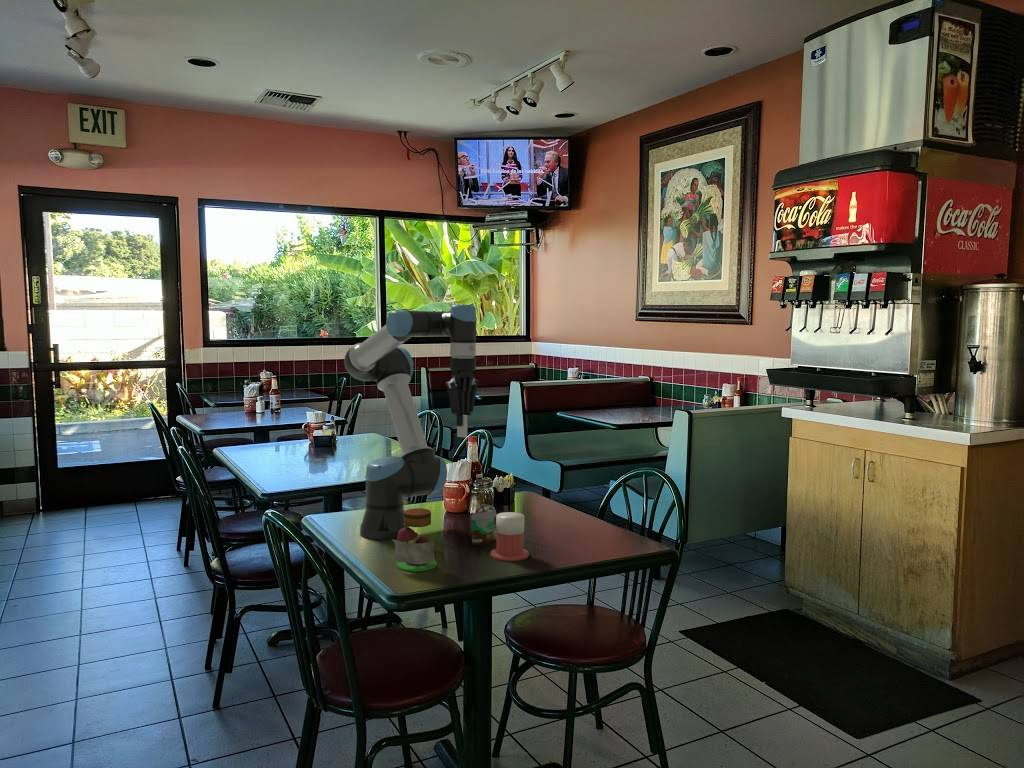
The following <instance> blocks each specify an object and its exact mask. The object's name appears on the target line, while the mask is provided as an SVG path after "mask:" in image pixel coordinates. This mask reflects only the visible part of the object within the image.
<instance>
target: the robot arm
mask: <svg viewBox="0 0 1024 768" xmlns="http://www.w3.org/2000/svg"><path fill="white" fill-rule="evenodd" d="M477 320H478V317H477V308H476V306H475V305H473V304H453V305H451V307H450V311H443V310H442V311H441V310H439V311H434V310H433V311H432V310H427V311H425V310H407V309H399V310H392V311H390V312H389V313H388V314H387V317H386V320H385V321H386V323H385V325H383V326H382V327H381V328H379V329H378V330H377V331H376V332H374V333H373V334H372V335H370V336H369V337H368V338H367V339H365V340H364V341H362V342H358V343H356V344H354V345H352V346H350V348H349V349H348V350H347V351H346V353H345V356H344V360H343V363H344V364H343V365H344V367H345V370H346V372H347V373H348V374H349V375H350V376H351V377H352V378H353V379H356V380H358V381H362V382H376V386H377V389H378V391H381V392H383V395H384V396H385V397H384V398H385V401H386V405H387V408H388V410H389V414H390V418H391V420H392V424H393V428H394V430H395V431H394V432H395V434H396V438H397V441H398V444H399V447H400V450H401V451H400V452H401V456H396V455H395V456H384V457H379V458H376V459H373V460H371V461H369V463H368V464H367V465H366V468H365V477H364V478H365V511H364V514H363V518H362V523H361V524H360V526H359V534H360V536H361V537H363V538H366V539H373V540H392V539H393V540H395V539H397V537H398V532H399V530H400V529H402V528H407V527H408V528H410V527H409V526H405V525H404V511H405V508H404V500H405V499H406V498H411V497H417V496H419V497H420V496H426V495H428V496H429V495H431V494H436V493H440V492H441V491H442V490H443V489H444V488H445V486H446V483H447V478H448V467H447V464H446V460H445V459H444V458H442V456H436V453H435V450H434V448H432V447H430V446H428V444H427V440H426V436H425V434H424V431H423V427H422V424H421V421H420V419H419V415H418V412H417V409H416V405H415V402H414V399H413V396H412V392H411V389H410V386H409V384H410V382H411V378H412V376H413V373H414V371H415V370H414V361H413V358H412V355H411V353H410V352H409V351H408V350H407V349H406V348H404V347H401V345H402V344H404V343H405V342H407V341H408V340H409V339H411V338H412V337H438V338H439V337H446V338H447V337H449V339H450V343H449V344H450V345H449V350H450V351H449V356H451V358H450V359H449V360H450V361H449V362H450V363H449V369H450V371H452V374H451V379H450V381H445V386H446V388H447V392H448V398H449V404H450V411H451V413H452V414H453V415H455V416H456V427H457V428H456V429H457V430H456V438H457V437H459V438H467V437H468V425H469V416H471V415H472V413H473V412H474V408H475V402H476V396H477V390H478V386H479V383H480V380H479V379H476V378H475V375H474V371H476V370H477V369H476V367H477V366H476V365H477V360H476V358H475V357H476V355H477V354H476V353H477V351H476V350H477V349H476V342H477Z"/></svg>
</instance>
